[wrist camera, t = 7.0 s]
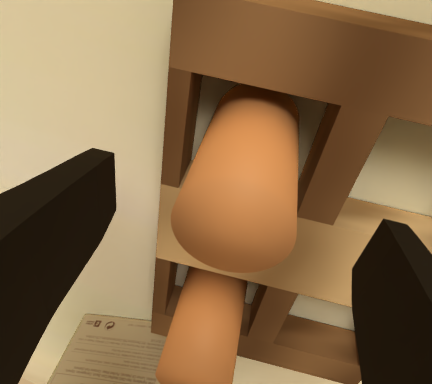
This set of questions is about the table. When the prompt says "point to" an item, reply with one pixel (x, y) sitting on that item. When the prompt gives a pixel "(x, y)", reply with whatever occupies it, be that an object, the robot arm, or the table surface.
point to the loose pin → (243, 184)
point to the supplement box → (110, 352)
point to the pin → (204, 330)
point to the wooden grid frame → (315, 164)
